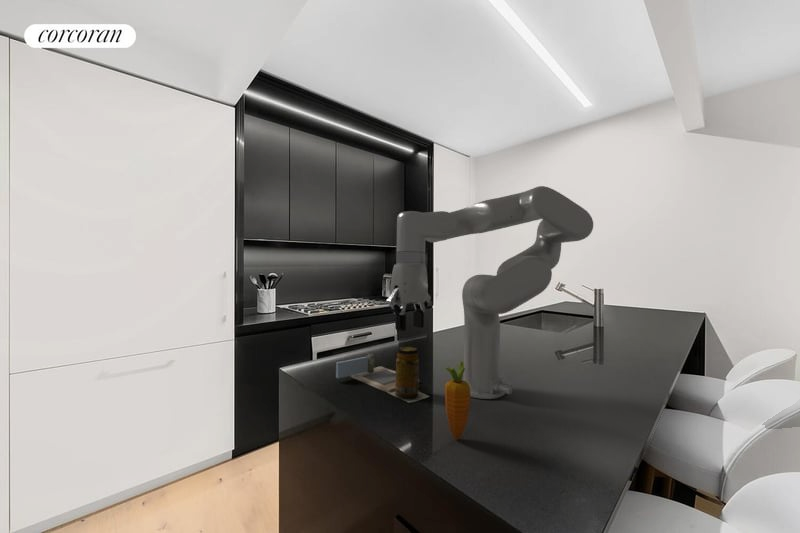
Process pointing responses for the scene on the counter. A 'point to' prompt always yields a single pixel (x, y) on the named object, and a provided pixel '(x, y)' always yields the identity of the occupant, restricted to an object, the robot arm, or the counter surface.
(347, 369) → the panel
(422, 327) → the robot arm
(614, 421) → the counter surface
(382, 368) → the gate frame
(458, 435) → the carrot
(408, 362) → the condiment
